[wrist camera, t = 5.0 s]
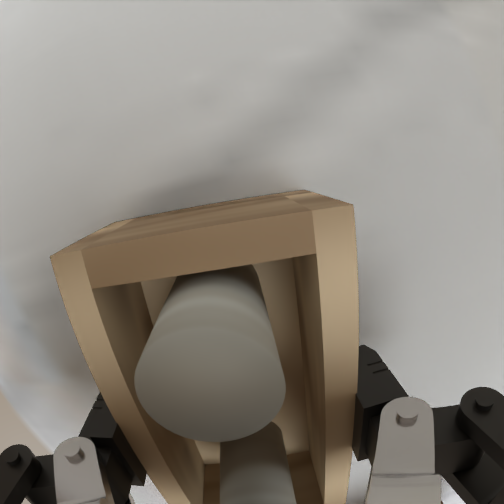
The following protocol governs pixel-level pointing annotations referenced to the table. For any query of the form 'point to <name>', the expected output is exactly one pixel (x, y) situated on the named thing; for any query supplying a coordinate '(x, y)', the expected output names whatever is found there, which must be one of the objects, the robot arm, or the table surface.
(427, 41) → the table surface
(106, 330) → the tray
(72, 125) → the table surface
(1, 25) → the table surface
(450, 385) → the table surface
